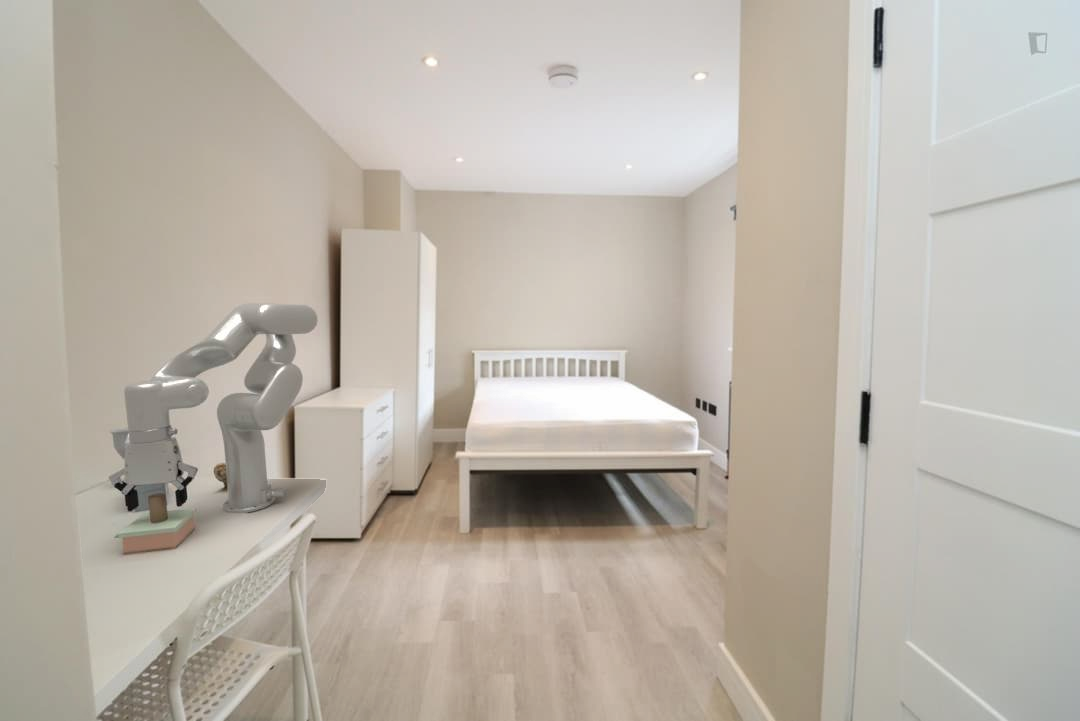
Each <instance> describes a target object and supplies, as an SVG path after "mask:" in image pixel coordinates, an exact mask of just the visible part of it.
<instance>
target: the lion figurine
mask: <svg viewBox="0 0 1080 721" xmlns="http://www.w3.org/2000/svg"><path fill="white" fill-rule="evenodd" d="M213 475H214V477H215V479H216V480H217V481H219V482H222V483H223V486H224V487H222V490H223V489H226V490H228V486H227V474H226V462H220V463H217V464H216V465H215V466H214V468H213Z"/></svg>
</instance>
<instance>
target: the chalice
mask: <svg viewBox="0 0 1080 721" xmlns="http://www.w3.org/2000/svg"><path fill="white" fill-rule="evenodd" d="M109 432H110V434H111V435H112V440H113V441H112V442H113V448H114V449H115V451H116V452H117V453H118V455H119V456H120V457H121V458H122V459H123V460H125V451H126V448H125V442H126V439H127V436H128V433H129V432H128V426H127V427H121V428H115V429H112V430H110V431H109ZM123 481H124V482H125V483H126V480H125V479H124V480H123ZM126 484H127V483H126Z"/></svg>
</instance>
